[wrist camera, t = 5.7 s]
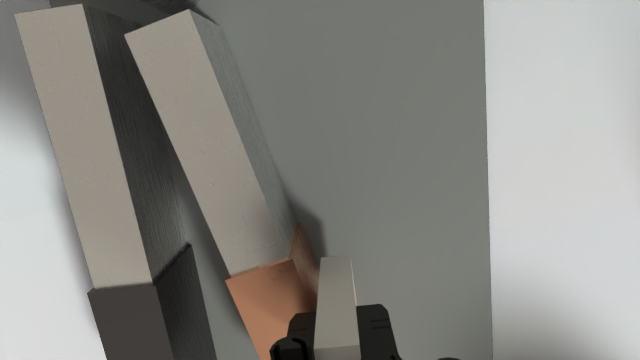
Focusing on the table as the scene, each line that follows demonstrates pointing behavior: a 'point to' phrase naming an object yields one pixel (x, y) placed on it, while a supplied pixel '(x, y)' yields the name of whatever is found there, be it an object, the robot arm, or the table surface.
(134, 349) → the tongs fixed
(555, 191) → the table surface
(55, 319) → the table surface
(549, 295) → the table surface
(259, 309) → the tongs arm
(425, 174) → the mat
